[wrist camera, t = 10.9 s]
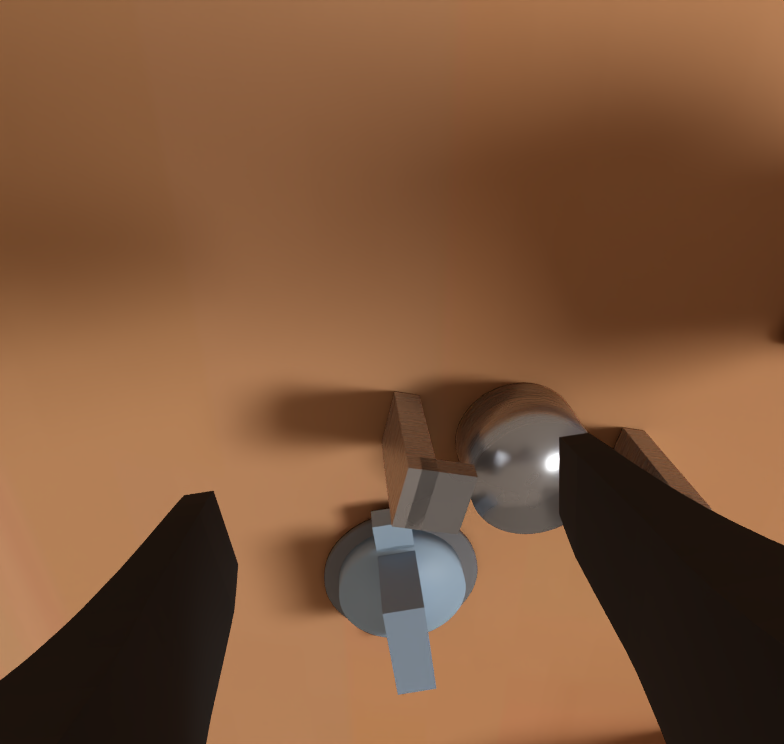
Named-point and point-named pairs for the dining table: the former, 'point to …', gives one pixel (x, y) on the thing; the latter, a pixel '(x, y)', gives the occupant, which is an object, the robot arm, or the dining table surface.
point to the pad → (366, 531)
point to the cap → (402, 594)
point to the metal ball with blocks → (496, 462)
